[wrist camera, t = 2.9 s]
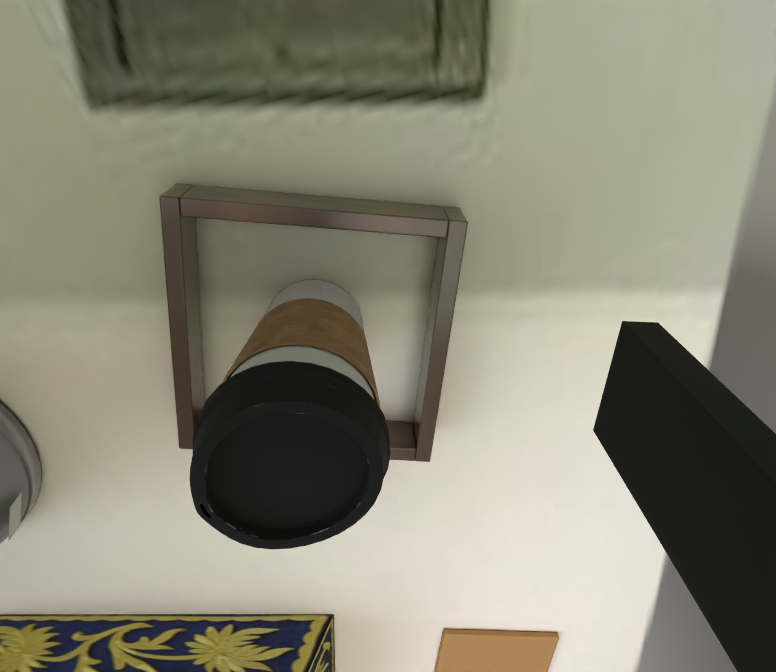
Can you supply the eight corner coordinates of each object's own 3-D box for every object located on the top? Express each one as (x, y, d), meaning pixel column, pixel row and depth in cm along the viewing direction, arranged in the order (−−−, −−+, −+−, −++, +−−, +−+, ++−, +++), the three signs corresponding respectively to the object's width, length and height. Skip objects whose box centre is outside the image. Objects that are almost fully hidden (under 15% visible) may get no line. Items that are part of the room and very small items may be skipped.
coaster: (428, 700, 55) (429, 706, 54) (443, 628, 50) (444, 634, 50) (533, 703, 55) (535, 708, 55) (557, 632, 51) (559, 637, 50)
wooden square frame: (191, 421, 40) (178, 448, 37) (175, 182, 33) (158, 196, 30) (425, 434, 41) (429, 462, 38) (459, 207, 34) (468, 221, 31)
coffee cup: (222, 287, 35) (136, 437, 22) (352, 239, 34) (346, 365, 21) (281, 397, 39) (238, 583, 26) (400, 356, 38) (421, 528, 25)
